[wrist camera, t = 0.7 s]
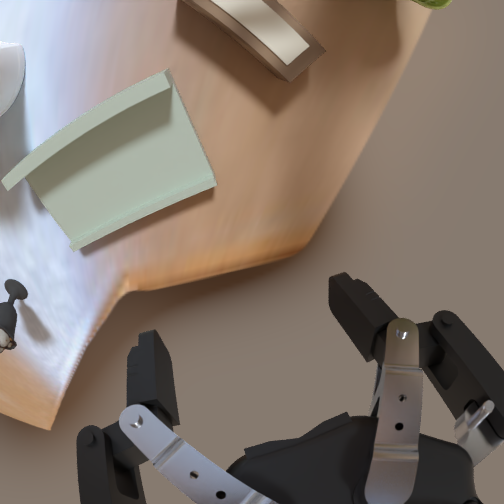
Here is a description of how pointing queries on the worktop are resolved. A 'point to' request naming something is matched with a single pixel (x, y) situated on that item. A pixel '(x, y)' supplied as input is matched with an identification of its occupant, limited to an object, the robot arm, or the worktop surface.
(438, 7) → the plant pot
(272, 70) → the frame
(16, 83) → the jar
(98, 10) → the worktop surface
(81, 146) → the ledge
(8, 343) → the sundae
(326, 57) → the worktop surface
